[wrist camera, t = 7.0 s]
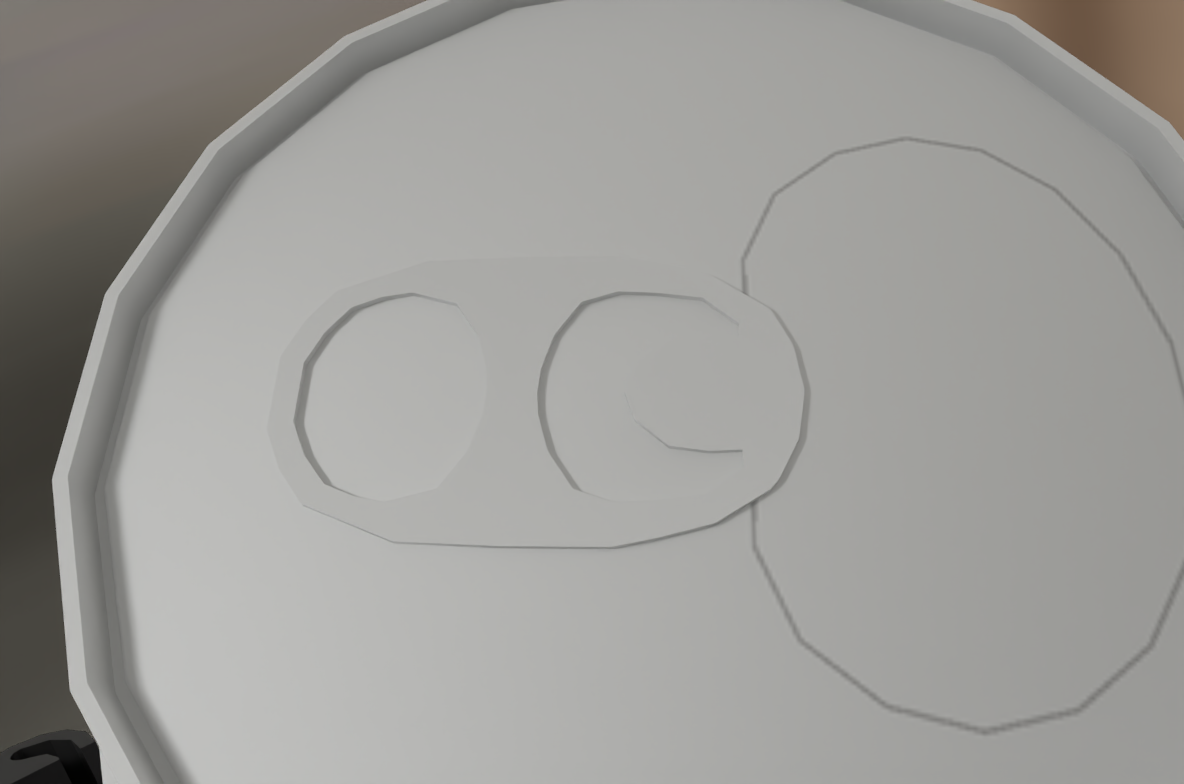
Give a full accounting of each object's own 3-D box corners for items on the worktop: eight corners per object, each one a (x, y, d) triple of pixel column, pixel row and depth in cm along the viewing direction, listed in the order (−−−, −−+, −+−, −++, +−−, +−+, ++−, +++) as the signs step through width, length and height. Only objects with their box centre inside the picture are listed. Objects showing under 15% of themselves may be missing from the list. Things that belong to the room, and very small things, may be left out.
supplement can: (874, 535, 21) (1247, -142, 7) (919, 1011, 17) (1858, 1437, 4) (477, 532, 21) (140, -96, 8) (437, 990, 18) (-325, 1281, 4)
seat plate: (686, 404, 24) (686, 374, 23) (705, -105, 32) (706, -149, 31) (1505, 430, 22) (1556, 400, 21) (1310, -117, 30) (1339, -164, 29)
